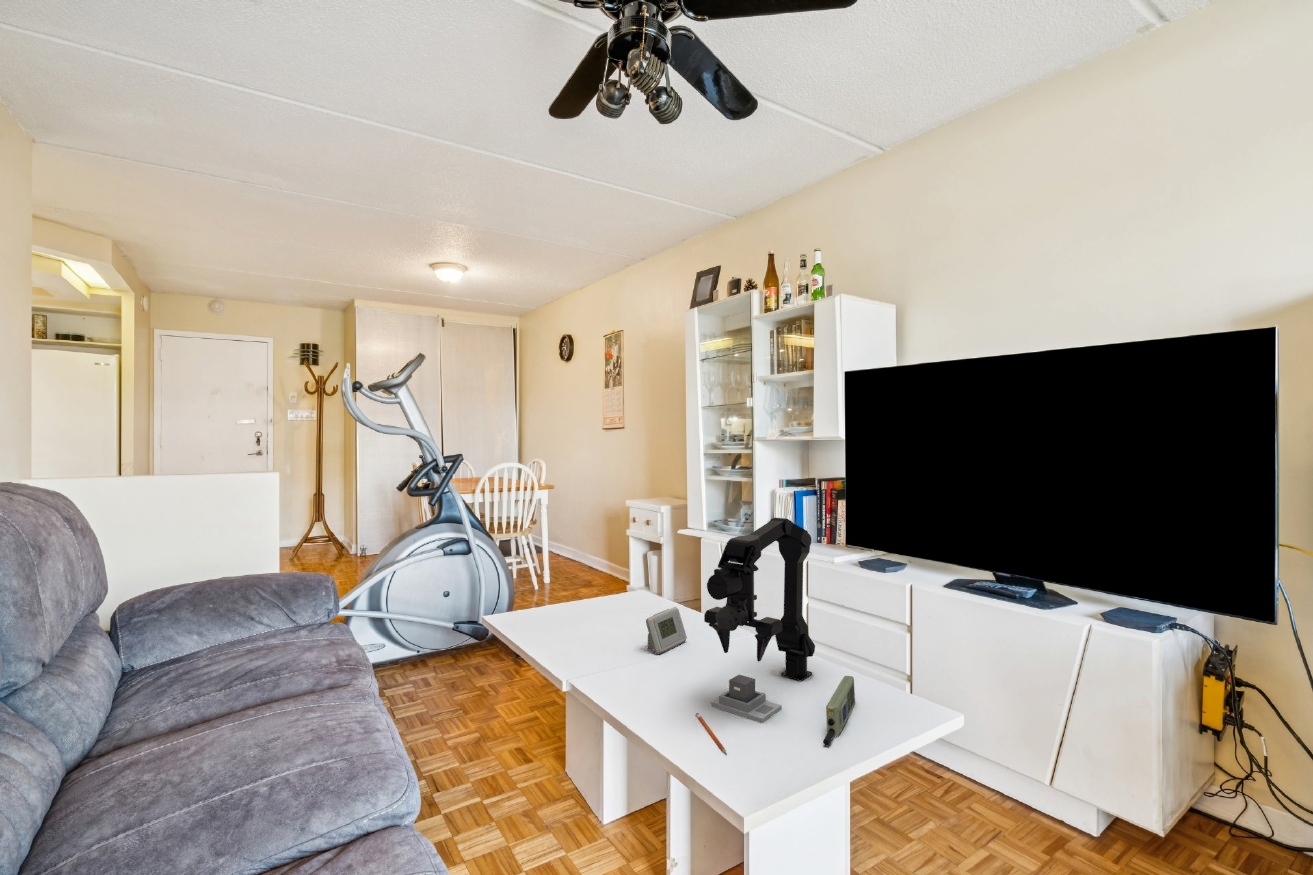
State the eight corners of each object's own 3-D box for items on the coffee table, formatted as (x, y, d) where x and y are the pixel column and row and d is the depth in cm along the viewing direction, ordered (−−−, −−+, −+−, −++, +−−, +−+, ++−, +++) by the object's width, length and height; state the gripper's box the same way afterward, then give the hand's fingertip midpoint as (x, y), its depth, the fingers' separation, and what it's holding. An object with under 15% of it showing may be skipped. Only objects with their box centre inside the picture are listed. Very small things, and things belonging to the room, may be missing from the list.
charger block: (739, 696, 148) (739, 674, 148) (755, 701, 146) (755, 678, 146) (729, 703, 145) (728, 679, 145) (745, 708, 142) (745, 684, 142)
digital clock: (656, 656, 179) (656, 620, 179) (636, 649, 186) (636, 614, 186) (694, 644, 190) (694, 610, 190) (674, 637, 197) (674, 604, 197)
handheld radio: (857, 704, 147) (834, 750, 125) (843, 702, 148) (818, 747, 126) (856, 676, 147) (833, 717, 125) (842, 674, 149) (817, 715, 127)
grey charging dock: (731, 693, 153) (731, 682, 153) (781, 709, 144) (781, 697, 144) (711, 705, 146) (711, 694, 146) (762, 723, 137) (762, 710, 137)
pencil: (699, 716, 141) (698, 712, 141) (729, 756, 123) (728, 752, 123) (695, 716, 141) (695, 712, 141) (724, 757, 123) (724, 753, 123)
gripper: (690, 592, 145) (691, 657, 145) (759, 605, 133) (759, 676, 133) (716, 583, 154) (717, 645, 154) (783, 595, 142) (783, 662, 142)
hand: (742, 656), depth 145 cm, fingers open, 9 cm apart
